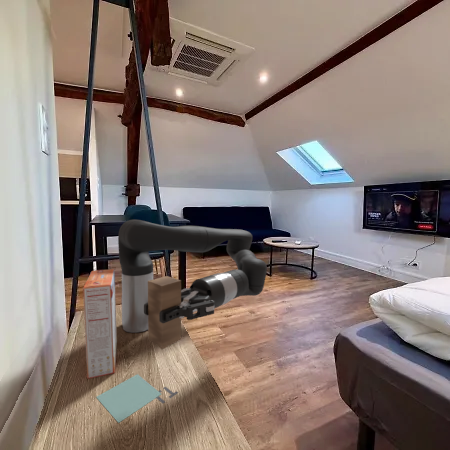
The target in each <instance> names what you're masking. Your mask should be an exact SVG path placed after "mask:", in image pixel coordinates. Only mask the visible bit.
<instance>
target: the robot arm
mask: <svg viewBox="0 0 450 450" xmlns="http://www.w3.org/2000/svg"><path fill="white" fill-rule="evenodd" d="M117 237H118V238H117V239H118V240H117V243H118V245H117V246H118V258H119V259H118V260H119V261H118V262H119V264H120V269H121V325H122V329H123V331H124V332H127V333H142V332H146V331H147V330H148V281H149V280H153V279H154V261H152V258H151V256H150V254H149V253H150V252H152V251H153V252H154V251H163V250H164V251H170V250H171V251H178V252H183V253H184V252H185V253H186V252H189V253H206V252H209V251H211V250H212V249H215V248H216V247H218V246H220V245H221V244H222V243H224V242H227V244H226V252H227V254H228V255H229V256H230V258H231V259H232V260H233V261H234V262H235V264H236V267H237V269H231V270H228V271H225V272H218V273H214V274H210V275H207V276H204V277H201V278H196V279H195V280H194V281H193V282H192V283H191V285H190V287H186V288H185V287H184V288H183V289H182V288H181V303H180V304H178V306H173V307H170V308H167V309H165V310H162V311H160V313H159V321H160V322H161V323H166V322H168V321H171V320H173V319H175V318H181V319H183V318H186V320H188V321H191V320H195V319H199V318H203V317H207V316H211V315H214V314H215V309H216V308H219V307H222V306H223V305H226V304H228V303H229V302H230V301H232V300H234V299H236V298H239V297H244V296H245V297H246V296H254V297H257V296H259V295H260V294H262V291H263V290H264V287H265V282H266V277H267V271H268V267H267V264H266V262H265V261H264V260H262V259H259V258H257V256H256V255H255V253H254V252H252V251H251V250H250V249H251V245H252V243H253V242H252V241H253V234H252V233H251V232H250V231H247V230H243V229H239V228H238V229H237V228H234V229H233V228H214V227H209V226H208V227H207V226H199V225H180V226H168V225H161V224H158V223H152V222H149V221H147V220H146V221H145V220H141V219H128V220H126V221H125V222H123V224H122V225H121V226H120V228H119V230H118V235H117Z"/></svg>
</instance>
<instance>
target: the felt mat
mask: <svg viewBox="0 0 450 450" xmlns="http://www.w3.org/2000/svg"><path fill="white" fill-rule="evenodd" d="M161 395H162V393H161V392H159V390H158V389H156V388H155V387H154V386H153V385H151V384H150V383H149V382H148V381H147V380H145V378H143V377H142V376H141V375H139V373H137V374H135V375H134V376H132V377H130V378H128V379H125V380H124V381H122V382H121V383H119V384H117V385H116V386H113V387H111V388H109V389H107V390H106V391H105V392H103V393H100V394H99V395H97V396H96V399H97V400H98V402H100V403H101V405H102V406H103V407H104V408H105V409H106V411H107V412H108V413H109V414H110V415H111V416H112V417H113V418H114V420H116V422H117V423H118V424H119V423H121V422H122V421H124V420H125V419H127V418H128V417H130V416H132V415H133V414H135V412H138V411H139V410H141V409H142V408H143V407H145V406H146V405H148V404H149V403H151V402H152V401H154V400H155V399H157V397H158V396H159V397H160V396H161Z"/></svg>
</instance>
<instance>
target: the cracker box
mask: <svg viewBox="0 0 450 450" xmlns="http://www.w3.org/2000/svg"><path fill="white" fill-rule="evenodd" d="M115 273H116V272H115V269H114V268H112V269H111V268H110V269H97V270H95V269H94V270H92V271H91V272H90V274H89V276H88V277H87V280H86V281H85V283H84V285H83V287H82V297H83V312H84V315H83V316H84V317H83V318H84V333H85V334H84V337H85V339H84V341H85V357H86V377H87V379H88V380H89V379H93V378H94V379H95V378H98V377H103V376H108V375H113V374H115V373H116V361H117V359H116V358H117V343H118V338H117V337H118V335H117V333H118V332H117V330H118V329H117V307H116V306H117V304H116V303H117V302H116V300H117V299H116V275H115Z"/></svg>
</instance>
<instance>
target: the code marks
mask: <svg viewBox="0 0 450 450" xmlns="http://www.w3.org/2000/svg"><path fill="white" fill-rule="evenodd" d="M163 389H164V390H165V392H167V393H168V394H169V396H168V398H169V399H172V398H173V397H174V396H176V395H177V394H179V392H178V391H177V390H176V391H175V392H173V391H172V390H170V389H169V388H168V387H167V386H164V387H163ZM158 391H159V392H160V393H161V392H162V389H159V390H158ZM156 399H157V400H158V401H160V403H161V404H165V403H166V401H165V400H164V399H163V398H162V397H160V396H158V397H157V398H156Z"/></svg>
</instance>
